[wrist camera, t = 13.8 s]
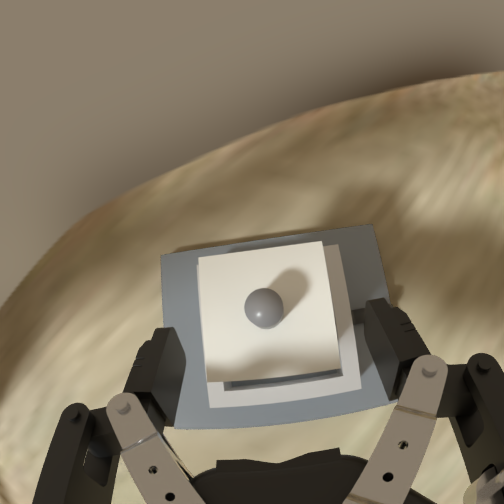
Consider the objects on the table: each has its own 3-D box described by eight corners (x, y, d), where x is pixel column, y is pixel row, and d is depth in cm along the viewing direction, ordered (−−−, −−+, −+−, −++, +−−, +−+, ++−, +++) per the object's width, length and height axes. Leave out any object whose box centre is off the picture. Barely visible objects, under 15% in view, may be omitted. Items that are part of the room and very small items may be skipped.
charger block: (246, 368, 19) (197, 386, 9) (239, 301, 21) (188, 246, 10) (315, 359, 19) (347, 370, 8) (307, 292, 20) (325, 228, 10)
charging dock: (180, 425, 19) (160, 437, 16) (166, 259, 24) (147, 243, 20) (397, 397, 18) (417, 405, 15) (368, 230, 23) (380, 208, 19)
